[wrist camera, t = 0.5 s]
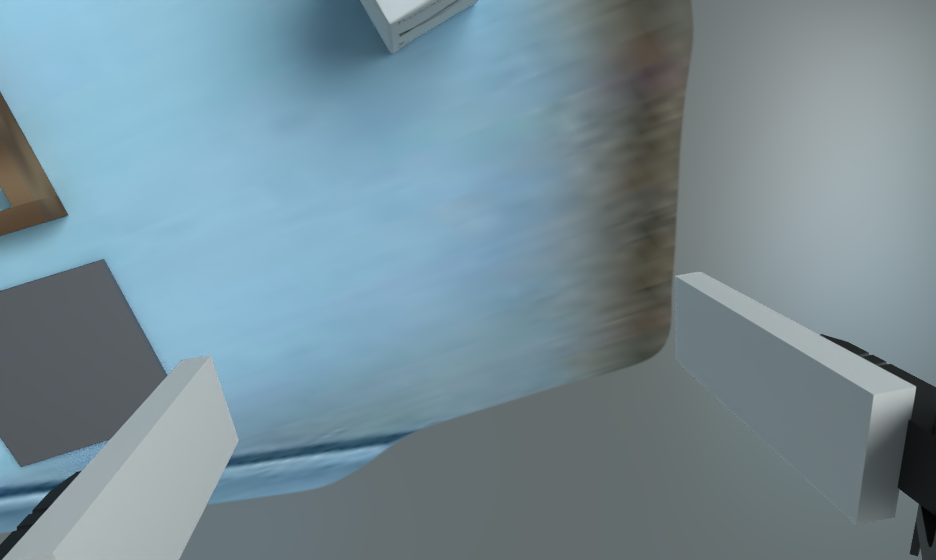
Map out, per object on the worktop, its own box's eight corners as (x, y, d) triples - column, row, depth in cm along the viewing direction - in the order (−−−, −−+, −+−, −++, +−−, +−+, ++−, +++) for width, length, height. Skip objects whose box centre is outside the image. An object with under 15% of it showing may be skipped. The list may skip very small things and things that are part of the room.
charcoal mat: (-78, 314, 39) (-84, 317, 38) (103, 259, 39) (100, 260, 38) (25, 463, 43) (20, 467, 43) (187, 412, 43) (184, 415, 43)
